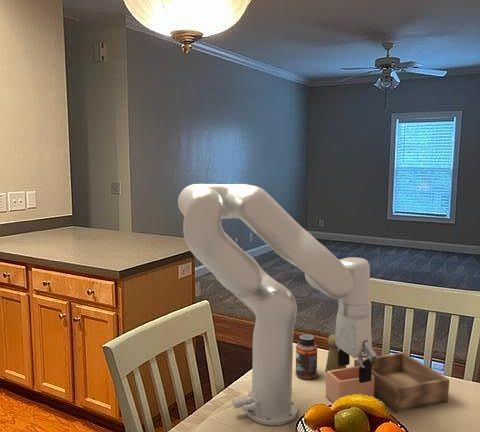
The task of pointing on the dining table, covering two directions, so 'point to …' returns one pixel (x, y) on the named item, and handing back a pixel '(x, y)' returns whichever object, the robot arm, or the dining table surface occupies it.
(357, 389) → the small crate
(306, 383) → the dining table surface
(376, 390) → the big crate
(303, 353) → the supplement bottle
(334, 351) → the olive green pawn
